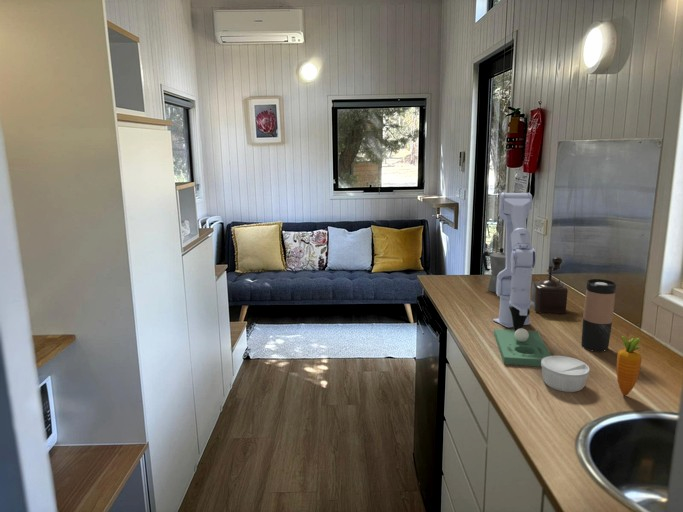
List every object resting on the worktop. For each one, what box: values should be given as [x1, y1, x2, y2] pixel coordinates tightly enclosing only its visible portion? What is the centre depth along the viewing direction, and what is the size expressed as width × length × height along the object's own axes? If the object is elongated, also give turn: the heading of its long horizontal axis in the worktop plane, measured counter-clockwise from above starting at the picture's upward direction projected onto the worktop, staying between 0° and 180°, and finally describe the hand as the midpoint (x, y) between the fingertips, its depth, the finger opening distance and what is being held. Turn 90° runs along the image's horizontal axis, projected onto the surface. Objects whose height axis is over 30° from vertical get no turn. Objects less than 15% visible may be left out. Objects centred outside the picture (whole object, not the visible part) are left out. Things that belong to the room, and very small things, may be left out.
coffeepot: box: [481, 247, 506, 294], centre depth 204 cm, size 15×9×18 cm, turn 44°
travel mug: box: [581, 278, 617, 352], centre depth 144 cm, size 8×8×20 cm
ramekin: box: [540, 355, 591, 393], centre depth 124 cm, size 11×11×5 cm
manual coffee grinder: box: [531, 256, 569, 315], centre depth 181 cm, size 16×11×18 cm
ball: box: [514, 327, 529, 342], centre depth 146 cm, size 4×4×4 cm
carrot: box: [616, 335, 642, 396], centre depth 116 cm, size 5×5×15 cm
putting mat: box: [493, 328, 553, 367], centre depth 145 cm, size 22×13×2 cm, turn 170°
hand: (517, 330), depth 152 cm, fingers closed
